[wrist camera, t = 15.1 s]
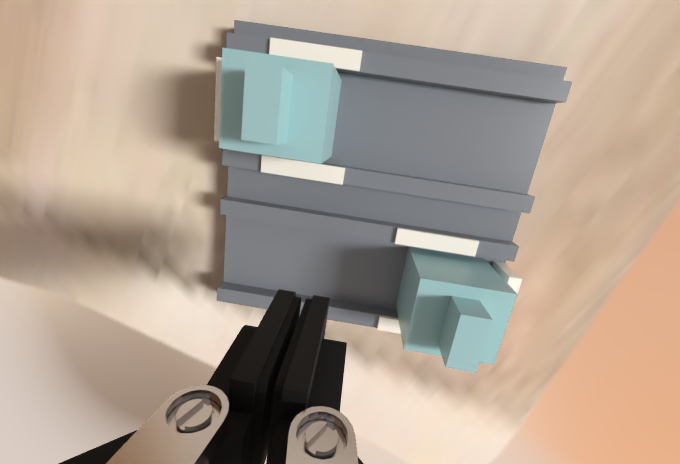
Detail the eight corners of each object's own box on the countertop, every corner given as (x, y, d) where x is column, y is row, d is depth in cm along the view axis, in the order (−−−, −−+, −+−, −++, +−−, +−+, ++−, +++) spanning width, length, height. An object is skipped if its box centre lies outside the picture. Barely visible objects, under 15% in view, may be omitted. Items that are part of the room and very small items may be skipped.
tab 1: (257, 68, 16) (202, 35, 10) (341, 80, 15) (328, 54, 10) (252, 144, 17) (200, 150, 11) (331, 156, 17) (315, 167, 11)
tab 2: (408, 246, 18) (426, 295, 12) (484, 258, 17) (535, 313, 12) (395, 304, 19) (407, 372, 13) (467, 316, 18) (507, 389, 13)
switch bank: (243, 28, 16) (215, 3, 13) (552, 72, 16) (596, 57, 13) (230, 290, 20) (206, 318, 17) (473, 331, 20) (492, 367, 17)
